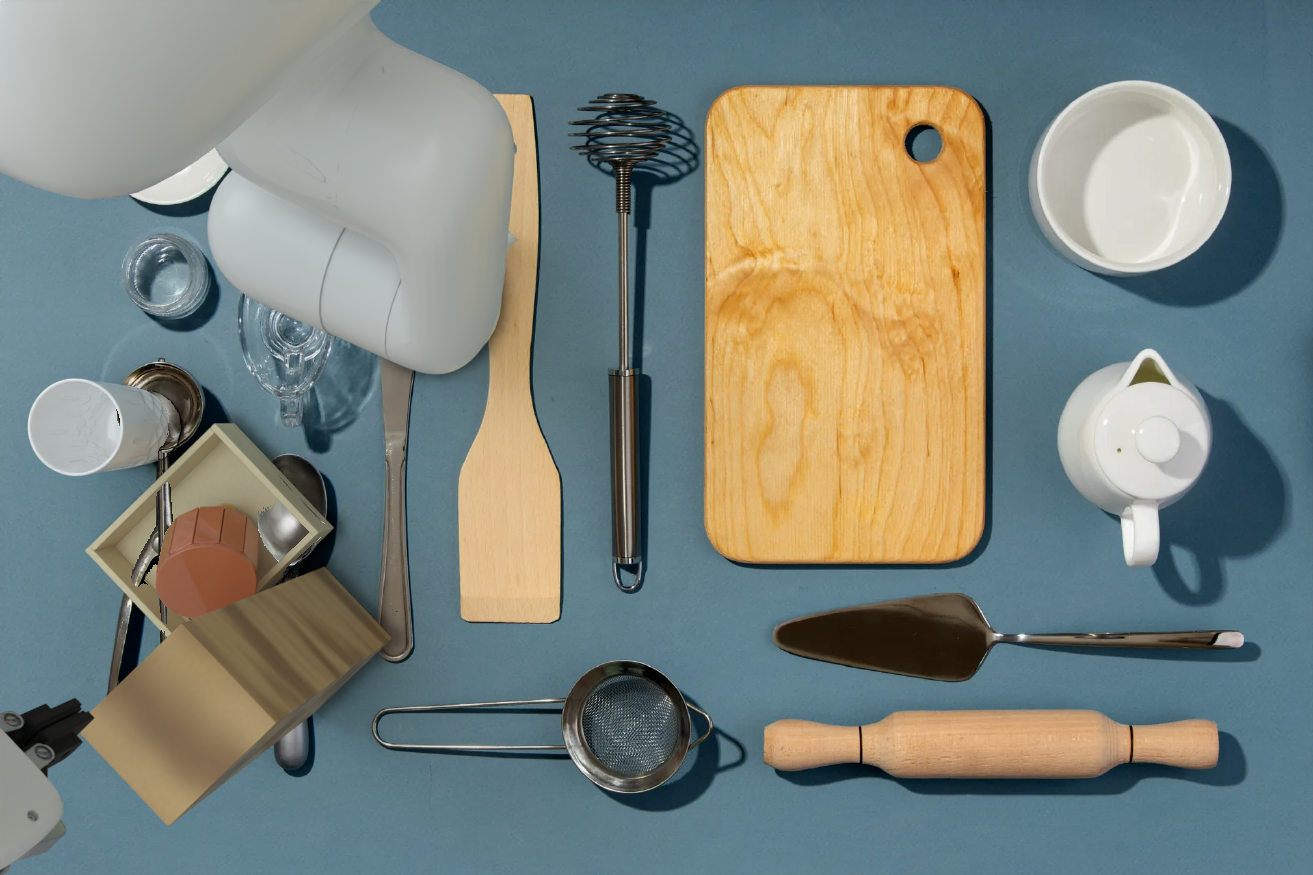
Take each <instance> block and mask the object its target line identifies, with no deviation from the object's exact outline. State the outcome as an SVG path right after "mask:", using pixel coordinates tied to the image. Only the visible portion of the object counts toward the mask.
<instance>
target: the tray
mask: <svg viewBox="0 0 1313 875" xmlns="http://www.w3.org/2000/svg"><path fill="white" fill-rule="evenodd" d="M278 475H279V476H280V477H281V478H282V479H283V480H284V481H285V482H286V483H287V484H288V486H289V487H290V488H291V489H292V490H293V491H294V492H295V493H296V494H297V495H298V496H299V497H300V498H301V499H302V500H303V501H304V502H305V503H306V504H307V506H308V507H309V508H310V509H311V510H312V511H313V512H314V513H315V514H316V515H317V516H318V517H319V518H320V519H321V520H322V521H323V522H324V523H325V524H324V523H322V522H321V521H320V520H319V519H318V518H317V517H315V515H314V514H313V513H312V512H311V511H310V510H309V509H308V508H307V507H306V506H305V505H304V504H303V503H302V502H301V501H300V500H299V498H297V496H296V495H295V494H294V493H293V492H292V491H291V490H290V489H289V488H288V486H286V484H285V483H284V482H283V480H282V479H281V478H280V477H279V476H278ZM166 482H169V484H170V487H171V502H172V514H173V521H174V520H175V518H177V517H178V516H179V515H182V514H184V513H186V512H188V511H190V510H193V509H195V508H197V507H198V508H199V509H200V507H215V506H217V505H219V504H230V505H232V506H233V507H235V508H236V510H237V512H239V513H241V514H244V515H246V517H248V518H249V519H250V520H251V522H252V523H253V524H254V526H255V527H256V528H257V529H258V518H257V516H258V511H259V514H261V511H262V512H263V511H264V512H265V508H266V509H267V507H269V509H271V507H273V504H274V505H275V501H276V505H277V502H279V504H280V502H281V503H282V504H283V505H284V506H285V507H286V508H287V509H288V510H289V511H290V512H291V514H292V515H293V516H294V517H295V518H296V519H297V520H298V521H299V522H300V523H301V524H302V525H303V526H304V527H305V528H306V529H307V530H308V531H309V533H308V534H307V535H306V536H305V537H304V538H303V539H302V540H301V541H300V542H299V543H298V544H297V545H296V546H295V547H294V548H292V549H291V550H290V551H289V552H288V553H287V554H286V555H285V556H284V557H283V558H282V559H281V560H280V561H279V562H278V561H277V560H276V559H275V558H274V557H273V555H272V554H271V553H270V552H269V550H267V548H266V546H264V543H263V541H262V538H261V537H260V555H259V569H258V582H257V588H256V590H255V593H254V595H255V594H257V593H260V592H262V591H265V590H267V589H270V588H272V587H275V586H277V585H278V583H279V582H280V581H281V580H282V579H283V578H284V577H283V575H282V574H283V572H284V571H285V570H286V568H287V567H288V566H289V565H290V564H291V563H292V562H294V561H295V560H296V559H297V558H298V557H299V556H300V555H301V554H303V553H304V552H305V551H306V550H307V549H308V548H309V547H310V546H311V545H313V543H315V542H316V541H317V540H318V539H319V538H320V537H321V538H320V539H319V540H318V541H317V542H316V546H317V545H318V544H320V542H321V541H322V540H323V539H324V538H326V536H328V535H329V534H330V532H332V530H334V526H333V525H332V524H331V523H330V522H329V521H328V520H327V519H326V517H324V516H323V515H322V513H321V512H320V511H319V510H318V509H317V508H316V507H315V506H314V505H313V504H312V503H311V502H310V501H309V500H308V499H307V498H306V497H305V496H304V495H303V494H302V493H301V491H300V490H299V489H298V488H297V487H296V486H295V485H294V484H293V483H292V482H291V481H290V480H289V479H288V478H287V477H286V475H285V474H283V473H282V472H281V470H279V469H278V467H277V466H276V465H275V464H274V463H273V462H272V460H270V459H269V458H268V457H267V455H265V454H264V452H262V451H261V449H260V448H258V447H257V445H256V444H255V443H254V442H253V441H252V439H250V438H249V437H248V436H247V435H246V433H244V431H242V430H241V428H240V427H239V426H238V425H237V423H234V422H232V423H229V422H228V423H226V422H225V423H219V422H218V423H217V422H216V423H213V424H212V425H211V427H209V428H208V429H207V430H206V431H205V432H204V433H203V434H202V435H201V436H200V437H199V438H198V439H197V440H196V441H195V442H194V443H193V444H192V445H191V446H190V447H189V448H188V449H187V450H186V451H185V452H184V453H183V454H182V455H181V456H180V457H179V458H178V459H177V460H175V462H174V463H172V464H171V465H170V466H169V468H168V469H167V470H165V471H164V472H163V473H162V474H161V475H160V476H159V477H158V478H157V480H155V481H154V482H153V483H152V484H151V485H150V486H149V487H147V489H146V490H145V491H144V492H143V493H142V494H141V495H140V496H139V497H137V499H136V500H135V501H134V502H133V503H132V504H131V505H130V506H128V508H127V509H125V511H123V513H122V514H121V515H120V516H118V518H116V519H115V520H114V521H113V522H112V524H110V526H108V527H107V528H106V529H105V530H104V531H103V532H102V533H101V534H100V535H99V536H98V537H97V538H96V539H95V540H94V541H93V542H92V543H91V544H90V545H89V546H88V547H87V548H86V549H85V550H84V551H85V552H86V554H87V555H88V556H89V557H90V558H91V559H92V560H93V561H94V562H95V563H96V564H97V566H99V567H100V568H101V570H103V572H104V573H105V574H106V575H107V576H108V577H109V578H110V579H111V580H112V582H114V583H115V584H116V585H117V586H118V588H119V589H121V591H123V593H124V594H125V595H126V596H127V597H128V598H129V599H130V600H131V602H133V604H135V605H136V607H138V608H139V610H140V611H141V612H142V613H143V614H144V615H145V616H146V617H147V618H148V619H149V620H150V621H151V622H152V623H153V624H154V626H156V627H157V629H158V630H159V631H160V632H161V630H162V632H163V633H164V631H165V635H164V636H165V638H167V637H168V636H169V635H170V634H171V633H172V632H173V631H174V630H175V629H176V628H177V627H178V626H179V625H180V624H182V623H184V622H187V621H189V619H188V618H187V617H184V616H181V615H179V614H177V613H175V612H173V611H172V610H170V609H169V608H168V607H167V624H165V625H164V623H163V622H162V621H161V613H160V606H159V600H158V594H157V591H156V570H157V565H156V564H155V565H153V567H152V569H150V572H148V574H147V576H146V577H145V580H144V581H145V582H146V583H147V584H148V585H147V584H144V583H143V584H141V585H140V586H139V587H136V586H135V585H134V584H133V582H132V579H131V576H132V569H134V567H135V564H136V562H137V559H139V555H140V554H141V551H142V550H143V548H144V546H145V544H146V543H147V541H148V539H150V535H151V534H152V532H153V531H154V528H155V527H156V496H157V492H158V491H159V490H160V489H161V487H162V486H163V485H164V484H165V483H166ZM270 505H271V507H270ZM263 507H264V509H263ZM274 509H275V506H274ZM267 510H268V509H267ZM262 515H263V514H262ZM316 546H312V548H311V550H310V552H311V551H312V550H313V549H314V548H315V547H316ZM162 632H161V633H162ZM163 633H162V634H163Z"/></svg>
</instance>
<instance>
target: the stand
mask: <svg viewBox="0 0 1313 875" xmlns="http://www.w3.org/2000/svg"><path fill="white" fill-rule="evenodd" d="M391 640H392V636H391V635H390V634H389V633H388V632H387V631H386V629H384V628H383V627H382V626H381V625H380V623H378V621H376V620H375V619H374V617H373V616H372V615H371V614H370V613H369V612H368V611H367V610H366V608H364V607H363V606H362V604H360V603H359V602H358V600H356V599H355V597H354V596H353V595H352V594H351V593H350V592H349V591H348V590H347V589H346V588H345V586H344V585H342V584H341V582H339V580H338V579H336V578H335V576H334V575H333V574H332V573H331V572H330V571H329V570H328V569H327V568H326V566H322V567H320V568H317V569H315V570H312V571H310V572H307V573H305V574H303V575H300V576H297V577H295V578H293V579H290V580H287V581H285V582H282V583H280V584H276V585H275V586H274V587H272V588H270V589H267V590H265V591H262V592H260V593H257V594H255V595H252V596H250V597H247V598H245V599H242V600H239V601H237V602H234V603H232V604H229V605H227V606H224V607H222V608H219V609H217V610H214V611H212V612H209V613H207V614H204V615H202V616H199V617H197V618H194V619H192V620H189V621H187V622H184V623H182V624H180V625H179V626H178V627H177V628H176V629H175V630H174V631H173V632H172V633H171V634H170V635H169V636H168V637H165V639H164V640H163V641H162V642H160V643H159V645H157V647H156V648H154V649H153V651H152V652H150V653H149V654H148V655H147V656H146V657H145V658H144V659H143V660H142V661H141V662H140V663H139V664H138V665H137V666H135V667H134V669H133V670H132V671H131V672H130V673H129V674H128V675H126V677H125V678H124V679H123V680H122V681H120V683H119V684H117V686H115V688H113V689H112V690H111V691H110V692H109V693H108V694H107V695H106V696H105V697H104V698H103V699H102V700H101V701H100V702H99V703H98V704H97V705H96V706H95V707H94V708H93V709H92V710H91V711H89V712H90V713H91V714H92V715H93V716H94V719H93V720H92V721H91V722H90V723H89V724H88V725H87V726H86V727H85V728H84V729H83V730H82V731H81V732H80V733H79V734H80V735H81V736H82V737H83V738H84V739H85V741H87V742H88V744H89V745H90V746H92V748H93V749H95V751H96V752H97V753H98V754H99V756H101V757H102V758H103V760H105V761H106V762H107V763H108V764H109V766H110V767H111V768H112V769H113V770H114V771H115V772H116V773H117V774H118V775H119V776H120V777H121V778H122V779H123V780H124V781H125V782H126V783H127V785H128V786H129V787H130V788H131V789H132V790H133V791H134V792H135V793H136V794H137V795H138V796H139V797H140V798H141V800H143V802H144V803H145V804H146V805H147V806H148V807H149V808H150V810H152V811H153V813H155V815H157V816H158V817H159V819H161V821H162V822H163V823H164V824H165V825H166V826H167V827H170V826H172V825H173V824H174V823H176V821H178V820H180V819H181V818H182V817H183V816H185V815H186V814H187V813H188V812H189V811H191V810H192V809H193V808H194V807H196V806H197V805H198V804H200V803H201V802H202V801H204V800H205V799H206V798H207V797H209V796H210V795H211V794H213V793H214V792H215V791H216V790H218V789H219V788H221V787H222V786H223V785H224V784H226V783H227V782H228V781H229V780H231V779H232V778H233V777H234V776H236V775H237V774H238V773H240V772H241V771H242V770H243V769H245V768H246V767H247V766H248V765H250V764H251V763H252V762H254V761H255V760H256V759H258V757H260V756H261V755H263V754H264V753H265V752H267V750H269V749H271V747H273V746H274V745H275V744H277V743H278V742H279V741H280V740H282V739H283V738H284V737H286V736H287V735H288V734H290V733H291V732H292V731H293V730H295V729H296V728H297V727H299V725H301V724H302V723H303V722H305V721H306V720H307V719H308V718H310V717H311V716H312V715H314V714H315V713H316V712H317V711H318V710H320V709H321V707H322V706H324V704H325V703H327V701H328V700H330V698H332V697H333V696H334V695H335V694H336V693H337V692H338V691H339V690H340V689H341V688H342V687H343V686H344V685H345V684H346V683H347V682H348V681H349V680H350V679H351V678H352V677H354V676H355V674H357V673H358V672H359V671H360V670H361V669H362V668H363V667H364V666H365V665H366V664H367V663H368V662H369V661H370V660H371V659H372V658H373V657H374V656H375V655H377V654H378V652H380V651H381V650H382V649H383V647H385V646H386V645H387V644H388V643H389V642H390V641H391Z"/></svg>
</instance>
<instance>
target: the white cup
mask: <svg viewBox="0 0 1313 875" xmlns="http://www.w3.org/2000/svg"><path fill="white" fill-rule="evenodd" d="M147 390H148V389H144V388H139V387H136V386H131V385H126V384H120V383H115V382H106V381H100V380H92V379H85V378H75V377H74V378H66V379H62V380H59V381H56V382H54V383H52V384H51V385H48V386H47V387H46V388H45V389H43V391H42V392H41V393H39V395H38V396H37V397H36V399H35V400H34V401H33V404H32V406H31V408H30V411H29V414H28V419H27V434H28V435H27V436H28V439H29V440H28V441H29V443H30V446H31V448H32V450H33V452H34V454H35V455H36V457H37V458H38V459H39V461H41V462H42V464H44V465H45V466H46V467H48V468H49V469H50V470H52V471H54V472H56V473H58V474H61V475H65V476H69V477H83V476H89V475H96V474H101V473H102V474H103V473H109V472H115V471H120V470H124V469H131V468H135V467H139V466H142V465H151V464H152V463H156V462H158V461H159V460H158V451H159V448H160V447H161V446H163V445H164V443H165V441H166V439H167V437H168V435H169V431H168V423H169V418H168V416H169V415H168V413H167V410H166V408H165V407H164V405H163V403H162V402H161V400H160V399H159V398H158V397H156V396H155V395H153V394H151V393H150V392H148V391H147ZM116 409H117V411H118V414H119V418H120V426H119V423H118V421H117V411H116ZM167 433H168V435H167ZM170 454H171V453H169V455H170Z"/></svg>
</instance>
